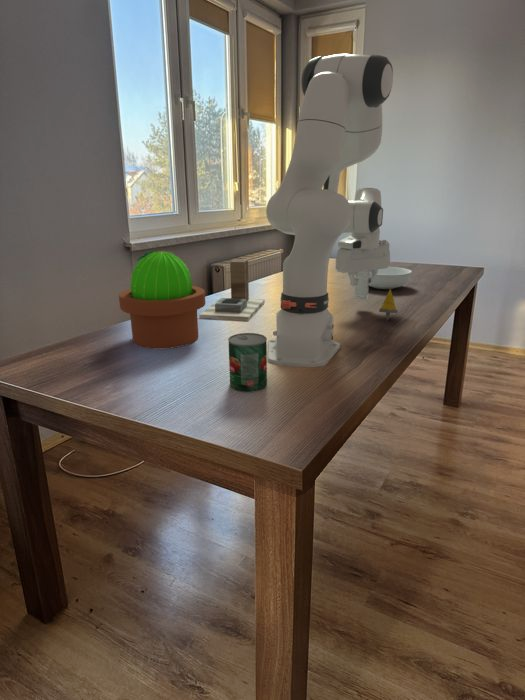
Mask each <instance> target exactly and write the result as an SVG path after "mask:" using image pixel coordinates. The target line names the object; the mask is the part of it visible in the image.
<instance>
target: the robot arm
mask: <svg viewBox="0 0 525 700" xmlns="http://www.w3.org/2000/svg"><path fill="white" fill-rule="evenodd" d="M393 81H394V69H393V65H392V63H391V61H390V60H389V59H388V57H387V56H384V55H380V54H372V55H368V54H353V53H352V54H350V53H337V54H332V55H327V56H325V55H320V56H316V57H314V58H312V59H309V61H308V62H307V63H306V65H305V67H304V68H303V70H302V74H301V90H302V93H303V100H302V102H301V103H302V104H301V107H300V112H299V115H298V116H299V117H298V121H297V127H296V132H295V133H296V134H295V138H294V145H293V148H292V153H291V157H290V160H289V164H288V167H287V170H286V172H285V174H284V177H283V179H282V181H281V183H280V185H279V187H278V189H277V190H276V192H275V193H274V194H273V195H272V196H271V197H270V198H269V200H268V201H267V205H266V209H265V210H266V211H265V213H266V218H267V221H268V223H269V224H270V225H271V226H272V227H273V228H275V229H276V230H277V231H279V232H281V233H284V234H286V235H290V236H291V235H292V236H294V241H293V246H292V249H291V251H290V252H289V253H290V254H289V255H287V256H286V257H285V258H284V260H283V263H282V291H281V294H280V295H281V296H280V299H279V301H280V310H279V311H277V312H276V317H275V318H276V319H275V320H276V330H273V332H272V333H273V334H272V335H273V336H274V338H269V339H267V341H268V342H267V362H269V363H270V364H274V365H279V366H288V367H295V368H296V367H297V368H298V367H300V368H315V367H324V366H326V365H327V364H328V363H329V362H330V361H331V359H332V358H333V357H334V356H335V354H336V353H337V352H338V351H339V350H340V349H341V344H340V342H337V341H334V326H335V325H334V319H335V317H334V315H333V314H332V313H331V312H330V311H329V309H328V308H329V300H330V299H329V293H328V291H327V290H328V275H329V274H328V273H329V265H330V258H331V255H332V251H333V249H334V246H335V245H336V242H337V240H338V239H339V238H340V237H341V236H342V235H343V234H350V235H348V236H346V237H344V238H342V239H340V240H338V243H337V247H338V250H337V252H336V257H335V270H336V271H337V273H342V274H347V275H348V277H349V279H350V286H354V287H355V285H357V281H358V280H355V278H356V272H358V271H364V269H369V270H370V272H371V274H370V277H369V283H374V278H375V276H376V274H377V273H378V269H385V268H388V267H390V265H391V252H390V251H391V250H390V243H389V242H388V241H387V240H386V239H381V240H380V234H381V231H380V227H382V225H383V218H384V216H383V215H384V208H383V207H382V194H381V190H379V189H378V188H373V187H362V188H358V189H357V190H356V192H355V195H354V200H353V199H351V200H350V199H347V198H346V196H344V195H343V194H340V193H338V191H339V190H338V189H339V183H340V176H341V172H342V171H344V170H346V169H347V168H349V167H352V166H354V165H357V164H359V163H361V162H364V161H366V160H367V159H368V158H370V157H372V156H373V154H375V153H376V152H377V150H378V149H379V147H380V145H381V142H382V136H383V135H382V134H383V104H384V103H385V102H386V100H387V99H388V98H389V96H390V94H391V91H392V88H393V83H394V82H393Z"/></svg>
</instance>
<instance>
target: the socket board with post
mask: <svg viewBox="0 0 525 700" xmlns="http://www.w3.org/2000/svg"><path fill="white" fill-rule="evenodd" d="M229 264H230V267H229V268H230V272H229V273H230V297H220V298H219V299H218V300H216V301H215V302H214V303H212V304H211V305H210V306H209V307H207V308H206V309H205V310H203V311H202V312H200V314H199V316H198V317H199V319H204V318H216V319H215V320H223V319H228V320H227V321H241V320H242V322H243V321H245V322H249V321H251V319H252V318H253V317H254V316H255V314H257V312H258V311H259V310H260V309H261V308H262V307H263V306H264V305H265V300H266V299H264V298H263V299H262V298H250V293H249V292H250V291H249V289H250V288H249V284H250V283H249V260H248V259H233V260H231V261H230V262H229ZM262 305H263V306H262ZM261 306H262V307H261ZM260 307H261V308H260ZM259 308H260V309H259Z"/></svg>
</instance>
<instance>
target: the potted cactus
mask: <svg viewBox="0 0 525 700" xmlns="http://www.w3.org/2000/svg"><path fill="white" fill-rule="evenodd" d="M187 264H188V262H187V261H186V263H185V262H184V261H183V259H182V258H180V256H179V255H177V256H176V255H175V254H174V252H173V251H170V250H166V251H165V250H161V251H160V250H158V251H157V250H152V251H147V252H144V253H143V254H142V256H140V257H138V258H137V259H136V264H135V263H134V265H135V266H134V268H132V269H131V268H130V269H131V271H132V273H131V274H130V275H131V279H130V280H131V281H130V284H129V286H130V288H128V289H125V290H123V291H121V292H120V293H119V294H118V299H119V300H118V301H119V309H120V310H121V311H122V312H124V313H127V314H129V317H130V318H129V319H130V328H131V335H132V336H131V337H132V342H133V343H134V344H135V345H136V344H137V346H138V347H141V346H142V348H146V347H147V349H153V348H166V349H172V348H171V347H174V348H178V347H177V346H180V347H183V346H182V345H184V346H187V345H190V344H192V343H194V342H196V341H197V340H198V339H199V323H198V322H199V321H198V310H200V309H202V308H203V307H205V306H206V291H205V289H203V288H202V287H200V286H195V285H193V282H192V278H191V277H194V276H193V275H192V274H190V270H189V268H188V266H187ZM191 342H192V343H191ZM189 343H190V344H189ZM186 344H187V345H186Z"/></svg>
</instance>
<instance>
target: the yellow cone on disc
mask: <svg viewBox="0 0 525 700" xmlns="http://www.w3.org/2000/svg"><path fill="white" fill-rule="evenodd" d="M378 311H379V312H380V313H385V320H386V322H388V321H389V319H390V315H391V314H397V313H398V309H397V308H396V305H395V300H394V297H393V292H392V289H388V292H387V295H386V297H385V299H384V301H383V303H382V304H381V308H379V310H378Z"/></svg>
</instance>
